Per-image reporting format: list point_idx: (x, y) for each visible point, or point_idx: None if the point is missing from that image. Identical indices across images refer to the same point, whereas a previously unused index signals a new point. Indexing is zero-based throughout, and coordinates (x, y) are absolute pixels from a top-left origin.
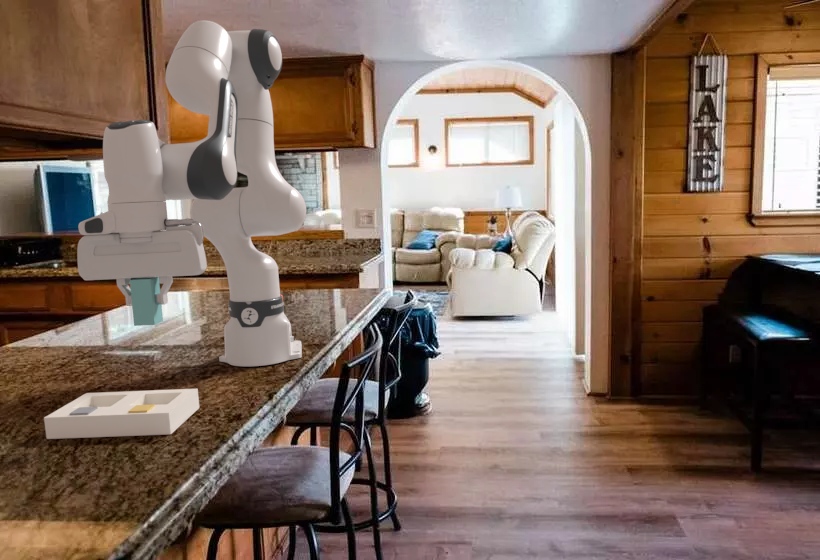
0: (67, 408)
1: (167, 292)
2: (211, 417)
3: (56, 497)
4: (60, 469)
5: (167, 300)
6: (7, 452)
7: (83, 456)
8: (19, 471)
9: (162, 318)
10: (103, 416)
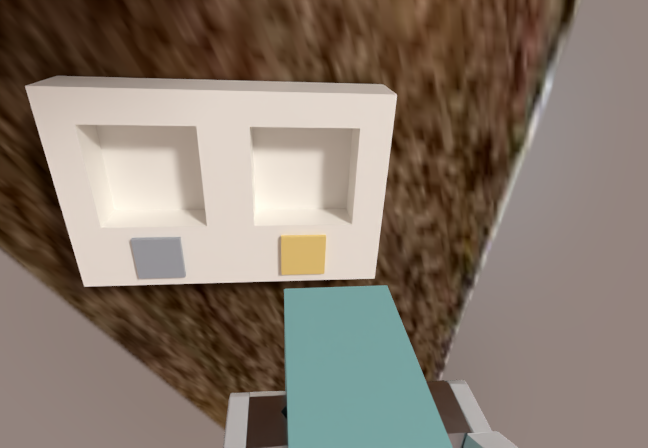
0: (90, 230)
1: (496, 434)
2: (425, 154)
3: None
4: (234, 363)
5: (468, 390)
6: (71, 305)
7: (241, 325)
8: (169, 367)
9: (389, 296)
10: (228, 281)
